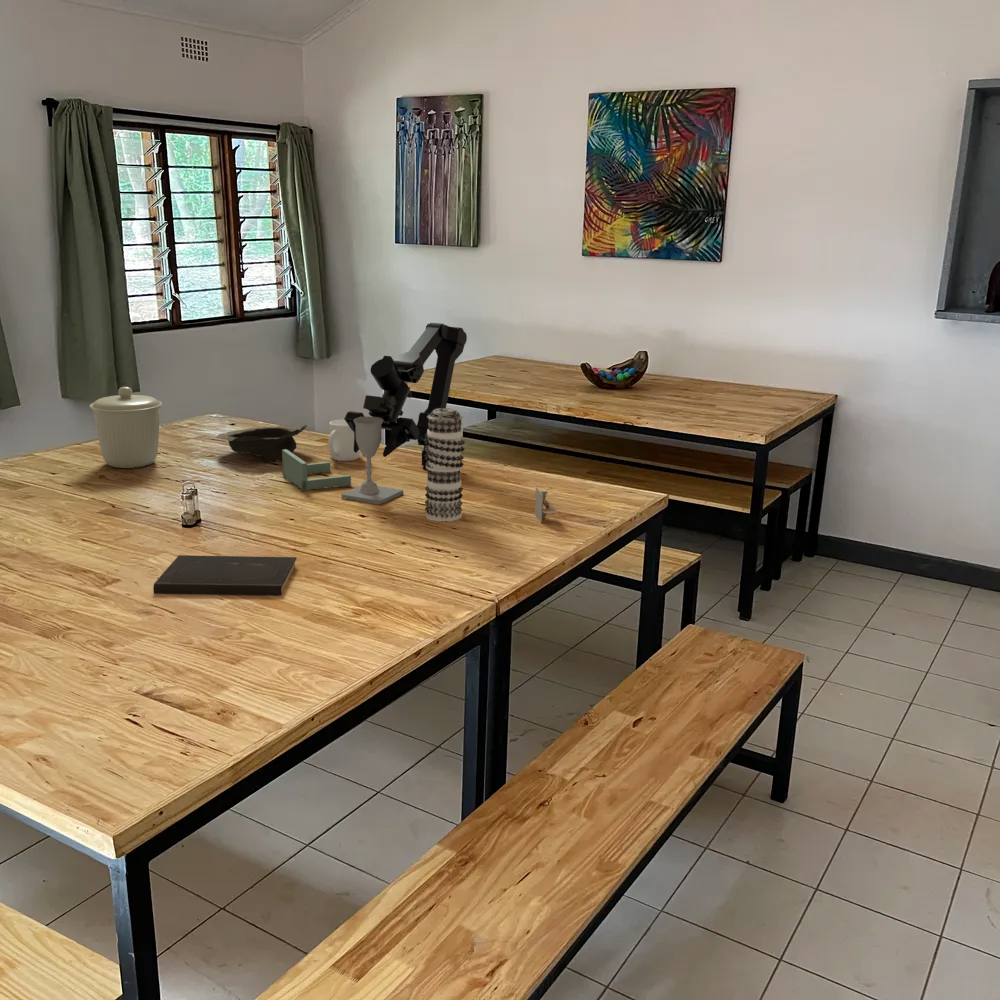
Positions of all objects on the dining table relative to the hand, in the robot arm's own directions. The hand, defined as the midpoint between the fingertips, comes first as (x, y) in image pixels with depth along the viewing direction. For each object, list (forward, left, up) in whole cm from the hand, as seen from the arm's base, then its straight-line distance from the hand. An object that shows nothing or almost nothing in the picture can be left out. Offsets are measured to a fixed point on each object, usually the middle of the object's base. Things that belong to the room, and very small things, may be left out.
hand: (369, 453), depth 237 cm
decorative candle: (-19, +14, -11) cm, 26 cm away
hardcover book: (+19, +57, -12) cm, 62 cm away
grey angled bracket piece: (-42, +14, -12) cm, 46 cm away
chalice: (0, -2, -10) cm, 10 cm away
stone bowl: (+36, -39, -11) cm, 55 cm away
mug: (+13, -37, -11) cm, 41 cm away
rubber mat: (-1, -1, -11) cm, 11 cm away
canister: (+68, -25, -11) cm, 74 cm away
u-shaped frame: (+15, -14, -11) cm, 24 cm away
